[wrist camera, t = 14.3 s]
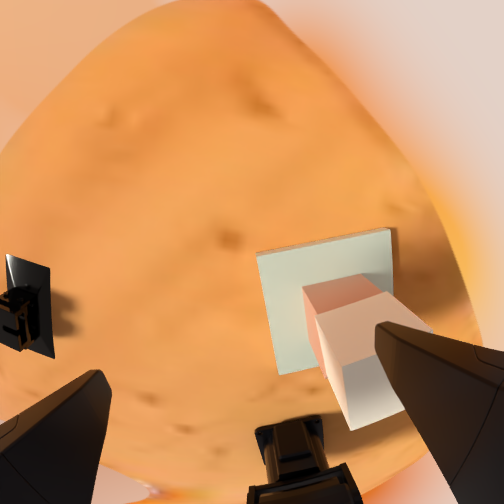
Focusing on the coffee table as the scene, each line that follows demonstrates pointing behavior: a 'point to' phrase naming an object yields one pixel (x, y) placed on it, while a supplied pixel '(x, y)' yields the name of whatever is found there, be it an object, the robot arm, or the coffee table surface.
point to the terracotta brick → (332, 303)
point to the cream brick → (362, 356)
